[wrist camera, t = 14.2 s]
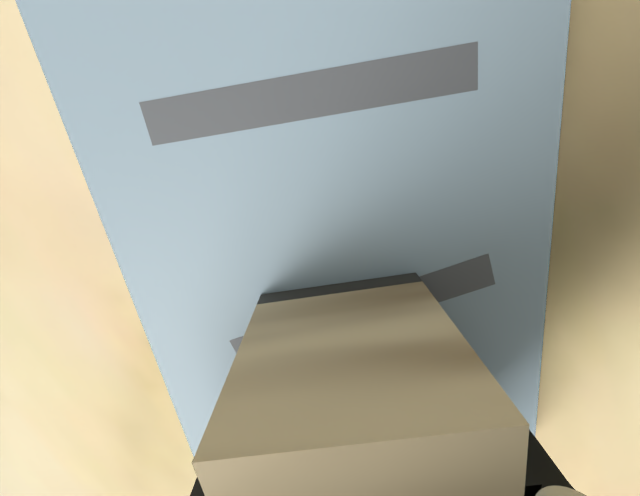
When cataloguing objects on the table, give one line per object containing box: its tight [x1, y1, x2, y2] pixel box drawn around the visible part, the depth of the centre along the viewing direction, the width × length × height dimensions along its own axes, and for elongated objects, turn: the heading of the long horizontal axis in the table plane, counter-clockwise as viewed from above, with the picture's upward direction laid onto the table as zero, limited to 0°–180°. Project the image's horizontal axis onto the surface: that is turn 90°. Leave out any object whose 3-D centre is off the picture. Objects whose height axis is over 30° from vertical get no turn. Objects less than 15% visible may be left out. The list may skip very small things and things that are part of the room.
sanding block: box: [192, 273, 530, 496], centre depth 8 cm, size 8×4×5 cm, turn 9°
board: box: [15, 0, 571, 456], centre depth 9 cm, size 24×12×2 cm, turn 9°
